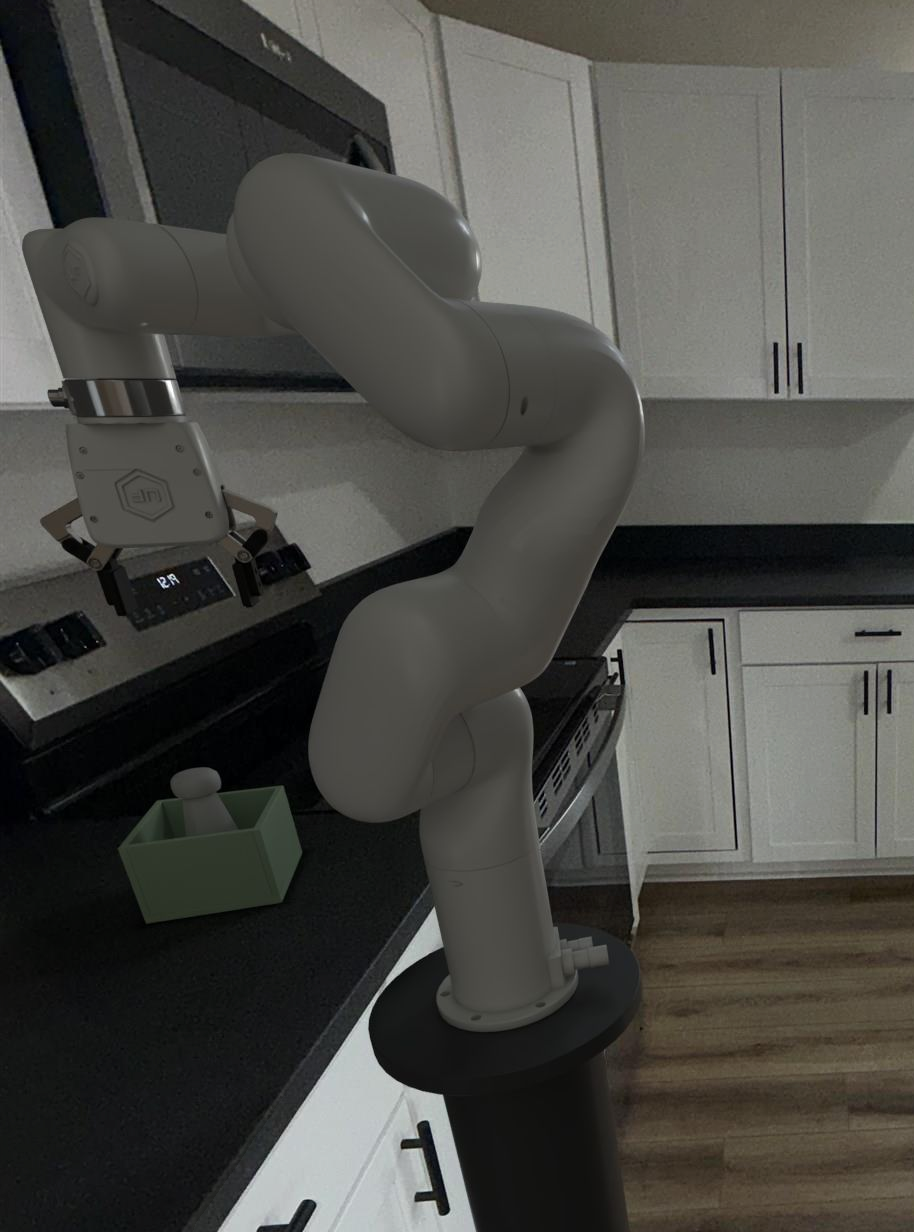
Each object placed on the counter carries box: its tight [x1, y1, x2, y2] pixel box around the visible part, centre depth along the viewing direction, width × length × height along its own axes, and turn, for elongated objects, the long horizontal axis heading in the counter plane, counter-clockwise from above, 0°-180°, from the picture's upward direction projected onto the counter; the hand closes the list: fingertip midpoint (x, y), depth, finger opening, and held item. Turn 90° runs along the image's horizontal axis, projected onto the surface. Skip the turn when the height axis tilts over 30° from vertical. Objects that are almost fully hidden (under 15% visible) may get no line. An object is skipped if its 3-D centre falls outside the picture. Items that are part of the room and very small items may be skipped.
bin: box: [117, 785, 303, 925], centre depth 101 cm, size 12×12×9 cm
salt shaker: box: [169, 766, 238, 837], centre depth 99 cm, size 6×6×13 cm
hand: (191, 608), depth 84 cm, fingers open, 9 cm apart
